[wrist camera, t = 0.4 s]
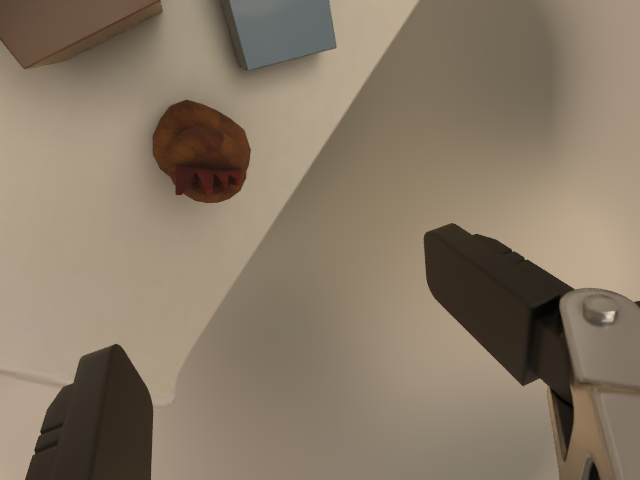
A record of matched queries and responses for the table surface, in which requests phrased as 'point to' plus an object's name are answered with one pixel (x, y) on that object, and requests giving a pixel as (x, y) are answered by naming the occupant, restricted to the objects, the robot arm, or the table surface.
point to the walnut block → (65, 26)
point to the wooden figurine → (201, 152)
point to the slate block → (278, 30)
